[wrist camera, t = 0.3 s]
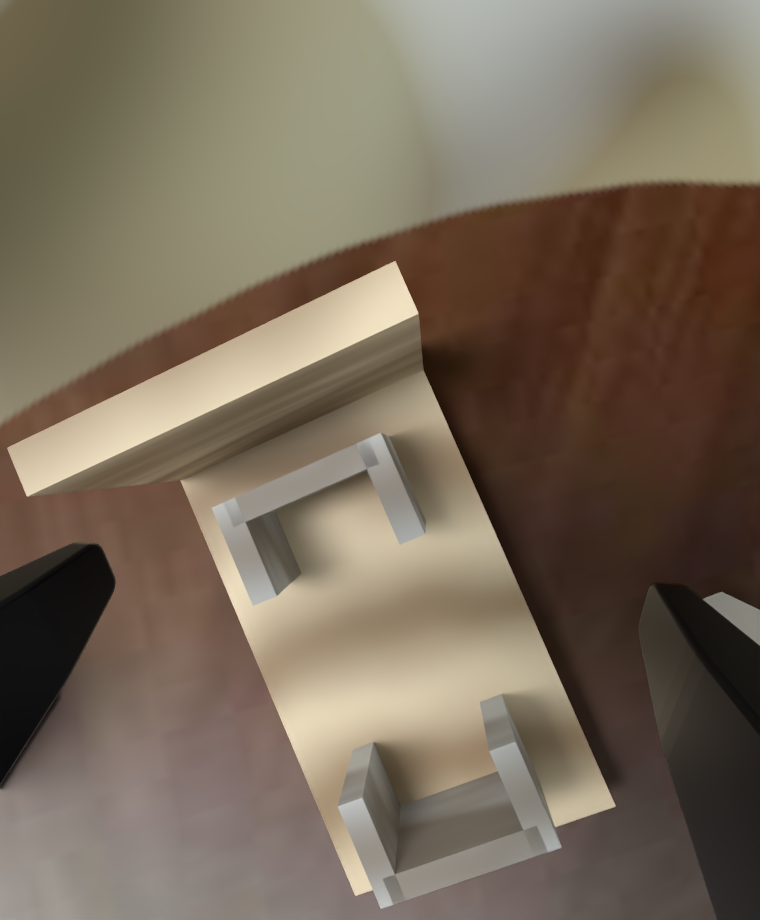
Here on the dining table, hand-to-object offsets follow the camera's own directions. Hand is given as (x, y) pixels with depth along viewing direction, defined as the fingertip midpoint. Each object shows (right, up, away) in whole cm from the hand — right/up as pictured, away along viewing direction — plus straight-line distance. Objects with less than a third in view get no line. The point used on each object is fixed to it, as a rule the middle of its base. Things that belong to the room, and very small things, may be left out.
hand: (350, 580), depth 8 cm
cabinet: (+1, -6, +15) cm, 16 cm away
